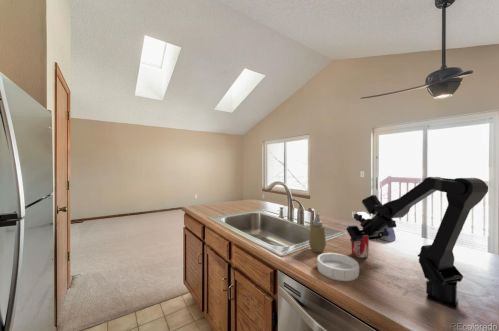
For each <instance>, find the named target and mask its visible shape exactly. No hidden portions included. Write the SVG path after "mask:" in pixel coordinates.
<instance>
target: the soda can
mask: <svg viewBox="0 0 499 331" xmlns="http://www.w3.org/2000/svg"><path fill="white" fill-rule="evenodd" d="M358 228H359V230H363V229H362V227H361V228H360V227H358ZM369 241H370V240H369V237H368V236H363V239H362V241H356V242H351V241H350V242H351V248H350V249H351V254H352V255H354V256H355V257H356V258H360V259H361V258H362V259H365V258H367V257H368V256H369V247H370V246H369Z"/></svg>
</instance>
